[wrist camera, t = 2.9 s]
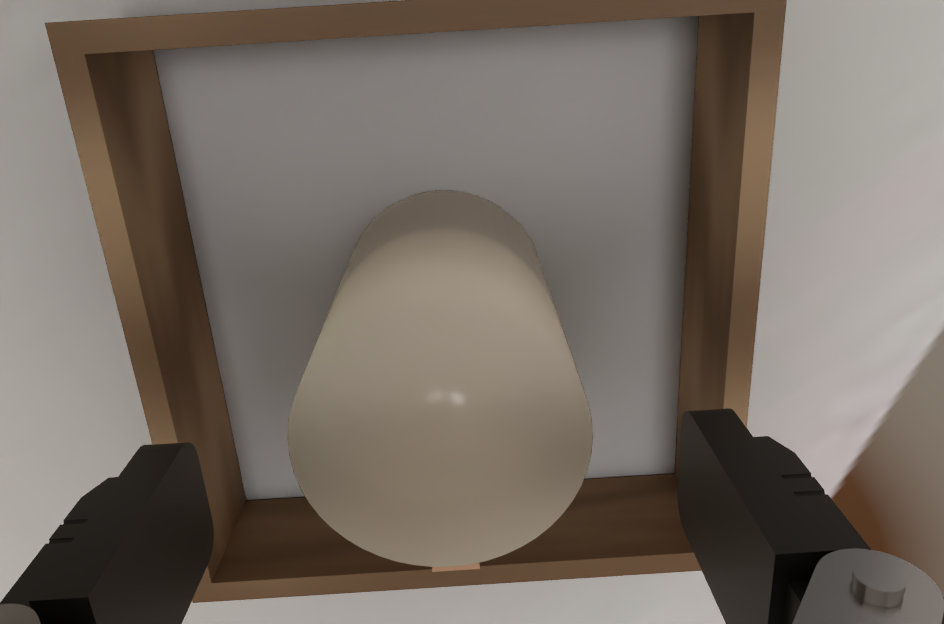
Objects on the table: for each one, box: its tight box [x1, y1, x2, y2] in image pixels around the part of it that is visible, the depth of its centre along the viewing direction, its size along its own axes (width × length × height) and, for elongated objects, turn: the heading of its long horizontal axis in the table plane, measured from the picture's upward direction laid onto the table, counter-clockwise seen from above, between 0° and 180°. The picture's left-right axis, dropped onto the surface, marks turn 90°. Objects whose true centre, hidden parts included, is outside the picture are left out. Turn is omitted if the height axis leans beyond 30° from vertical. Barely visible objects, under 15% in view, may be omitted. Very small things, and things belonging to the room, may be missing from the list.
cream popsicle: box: [288, 191, 593, 572], centre depth 17 cm, size 7×5×8 cm
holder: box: [45, 0, 786, 603], centre depth 19 cm, size 14×14×4 cm
